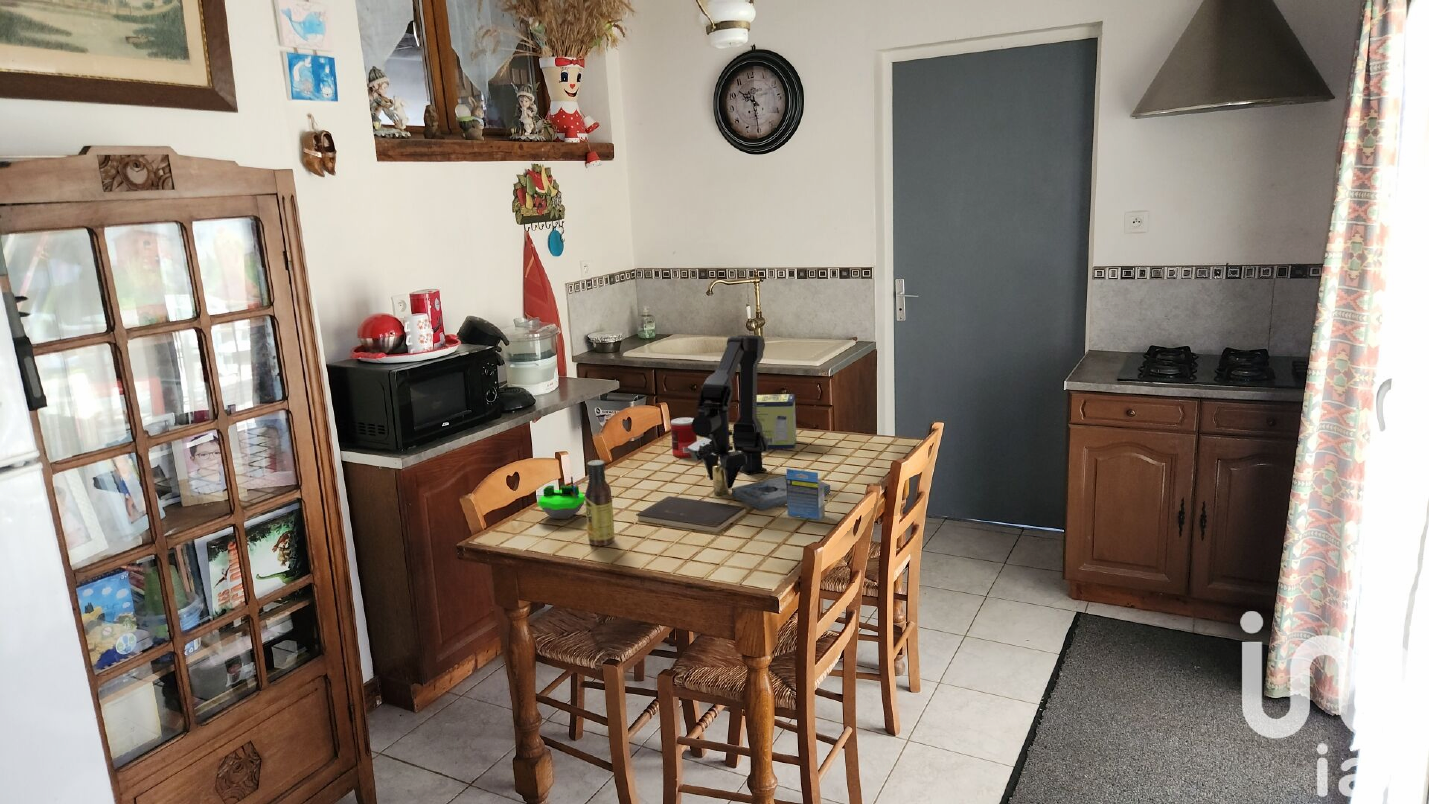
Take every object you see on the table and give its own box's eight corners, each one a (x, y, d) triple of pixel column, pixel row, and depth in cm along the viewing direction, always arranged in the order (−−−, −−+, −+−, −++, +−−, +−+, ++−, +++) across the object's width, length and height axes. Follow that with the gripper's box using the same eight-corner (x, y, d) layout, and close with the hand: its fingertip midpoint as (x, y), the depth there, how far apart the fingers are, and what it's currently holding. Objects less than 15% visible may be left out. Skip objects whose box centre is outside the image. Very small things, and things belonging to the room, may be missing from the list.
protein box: (748, 441, 307) (747, 394, 304) (796, 440, 305) (795, 393, 301) (745, 449, 297) (743, 401, 294) (795, 449, 295) (793, 400, 291)
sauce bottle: (589, 538, 226) (582, 458, 222) (615, 536, 226) (609, 456, 222) (587, 548, 220) (581, 466, 215) (614, 546, 220) (608, 464, 216)
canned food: (702, 452, 296) (700, 418, 293) (688, 459, 289) (686, 424, 287) (682, 450, 300) (680, 416, 298) (667, 456, 293) (665, 422, 291)
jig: (732, 496, 252) (731, 485, 251) (799, 481, 262) (799, 470, 261) (760, 510, 240) (760, 499, 239) (830, 493, 250) (830, 482, 250)
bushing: (711, 493, 255) (709, 465, 254) (723, 490, 257) (722, 462, 255) (718, 497, 252) (717, 468, 250) (731, 494, 254) (730, 465, 252)
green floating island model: (591, 511, 246) (589, 470, 244) (576, 525, 235) (573, 483, 233) (548, 509, 249) (545, 469, 247) (531, 524, 238) (528, 482, 235)
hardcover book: (716, 535, 226) (716, 526, 225) (636, 522, 237) (635, 514, 236) (747, 514, 239) (746, 505, 239) (670, 503, 250) (669, 495, 250)
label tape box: (825, 515, 234) (824, 468, 231) (819, 520, 231) (817, 472, 228) (793, 511, 238) (792, 464, 236) (786, 516, 235) (784, 468, 232)
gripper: (675, 425, 255) (678, 481, 258) (709, 439, 239) (712, 498, 242) (710, 419, 260) (713, 473, 263) (746, 432, 244) (748, 490, 247)
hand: (720, 483), depth 254 cm, fingers open, 9 cm apart
